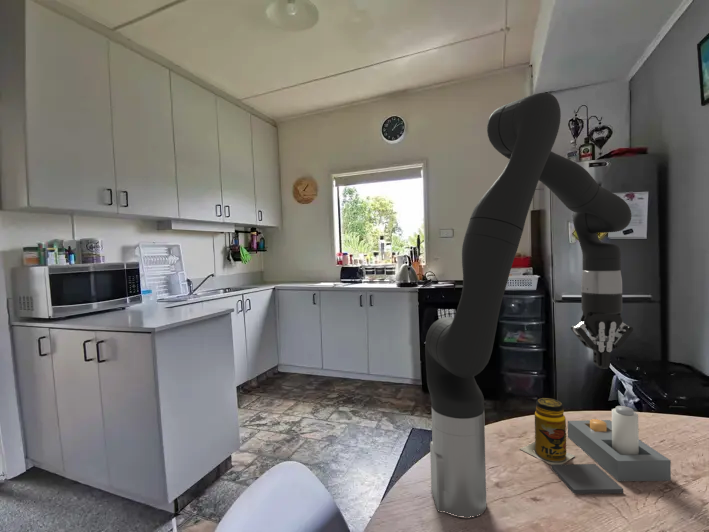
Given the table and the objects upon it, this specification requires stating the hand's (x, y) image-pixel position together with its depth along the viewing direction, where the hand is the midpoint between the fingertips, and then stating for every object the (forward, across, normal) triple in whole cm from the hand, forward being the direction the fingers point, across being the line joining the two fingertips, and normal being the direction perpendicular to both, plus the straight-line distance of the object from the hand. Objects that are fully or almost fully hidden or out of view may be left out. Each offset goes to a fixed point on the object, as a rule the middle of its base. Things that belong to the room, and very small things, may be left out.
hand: (601, 367), depth 80 cm
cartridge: (+19, 0, -6) cm, 20 cm away
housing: (+19, 0, -3) cm, 19 cm away
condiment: (+19, -13, -1) cm, 23 cm away
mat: (+19, -11, -11) cm, 24 cm away
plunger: (+18, +1, +2) cm, 19 cm away
